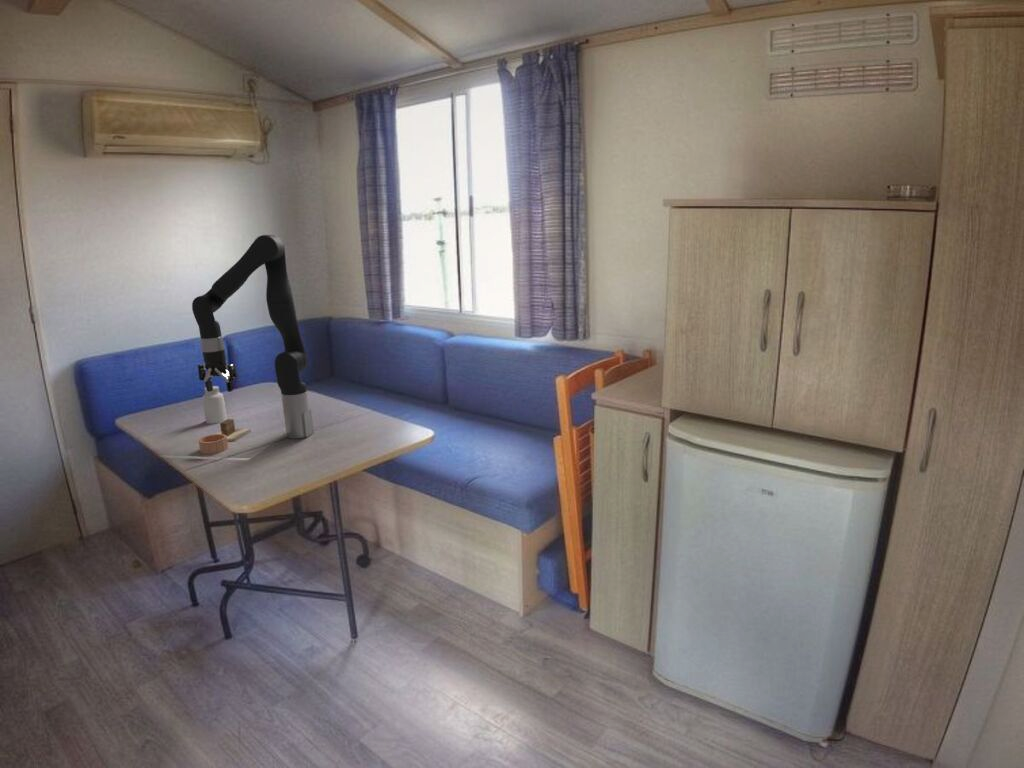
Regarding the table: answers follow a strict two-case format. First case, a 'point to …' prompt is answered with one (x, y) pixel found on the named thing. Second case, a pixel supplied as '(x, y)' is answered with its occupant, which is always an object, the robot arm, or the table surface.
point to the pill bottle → (214, 406)
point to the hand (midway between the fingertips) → (220, 391)
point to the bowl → (213, 443)
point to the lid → (231, 430)
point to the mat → (239, 438)
